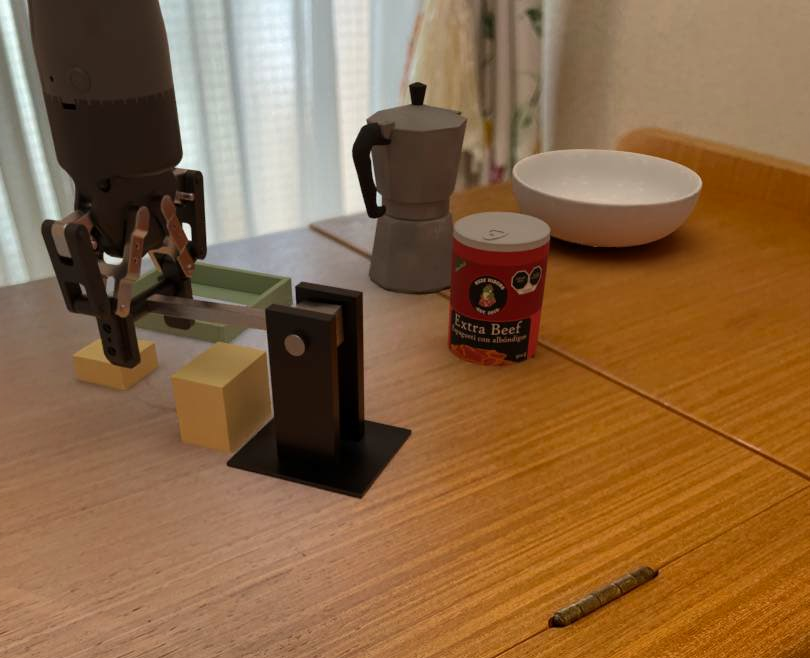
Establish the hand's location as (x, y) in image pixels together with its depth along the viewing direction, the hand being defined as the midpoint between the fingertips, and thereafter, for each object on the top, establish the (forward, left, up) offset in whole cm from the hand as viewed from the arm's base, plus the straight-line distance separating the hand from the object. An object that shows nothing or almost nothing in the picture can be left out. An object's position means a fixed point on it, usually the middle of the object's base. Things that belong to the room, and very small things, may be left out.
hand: (153, 344), depth 61 cm
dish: (-9, +18, -6) cm, 21 cm away
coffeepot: (+6, +34, -7) cm, 35 cm away
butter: (+5, 0, -6) cm, 8 cm away
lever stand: (+13, 0, -6) cm, 14 cm away
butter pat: (-7, +4, -6) cm, 10 cm away
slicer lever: (+7, 0, +2) cm, 7 cm away
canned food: (+19, +21, -7) cm, 29 cm away
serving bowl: (+21, +56, -7) cm, 60 cm away
